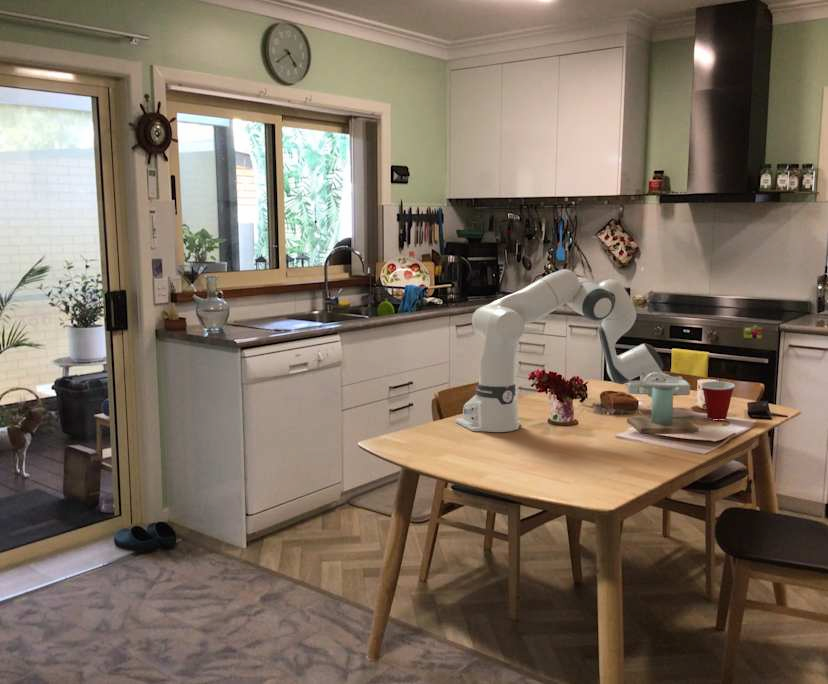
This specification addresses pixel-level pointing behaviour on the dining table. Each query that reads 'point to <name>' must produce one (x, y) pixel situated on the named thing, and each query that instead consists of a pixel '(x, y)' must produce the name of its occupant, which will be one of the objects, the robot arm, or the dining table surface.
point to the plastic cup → (717, 398)
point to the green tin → (662, 405)
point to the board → (648, 427)
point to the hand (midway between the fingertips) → (660, 392)
